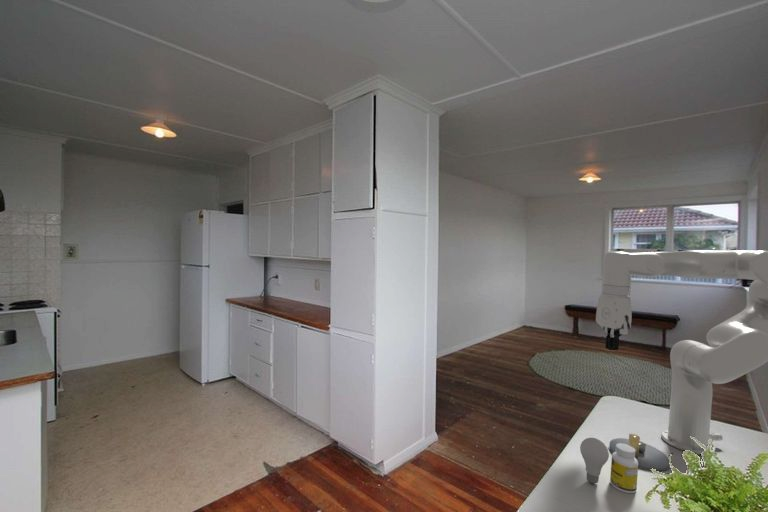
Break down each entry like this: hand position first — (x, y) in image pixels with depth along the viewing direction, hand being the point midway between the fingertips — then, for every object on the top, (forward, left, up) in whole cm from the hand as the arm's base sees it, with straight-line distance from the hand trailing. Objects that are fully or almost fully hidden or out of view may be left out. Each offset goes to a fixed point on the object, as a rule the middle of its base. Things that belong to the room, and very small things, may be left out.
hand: (611, 349), depth 114 cm
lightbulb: (+21, +23, -27) cm, 41 cm away
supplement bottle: (+14, +25, -27) cm, 39 cm away
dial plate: (-1, +12, -27) cm, 30 cm away
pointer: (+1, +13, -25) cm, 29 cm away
